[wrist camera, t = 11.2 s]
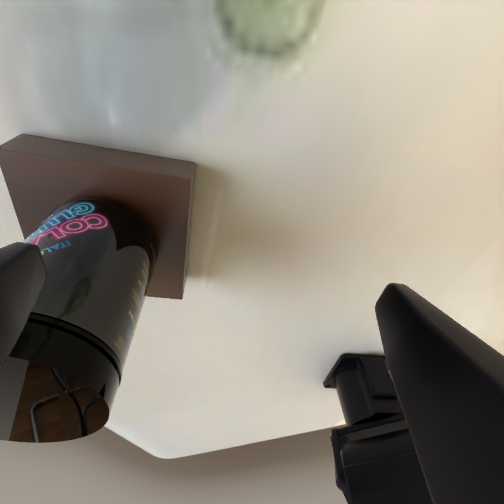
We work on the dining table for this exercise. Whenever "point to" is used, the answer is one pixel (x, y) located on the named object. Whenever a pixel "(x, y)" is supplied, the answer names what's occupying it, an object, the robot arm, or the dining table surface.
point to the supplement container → (77, 322)
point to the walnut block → (106, 193)
